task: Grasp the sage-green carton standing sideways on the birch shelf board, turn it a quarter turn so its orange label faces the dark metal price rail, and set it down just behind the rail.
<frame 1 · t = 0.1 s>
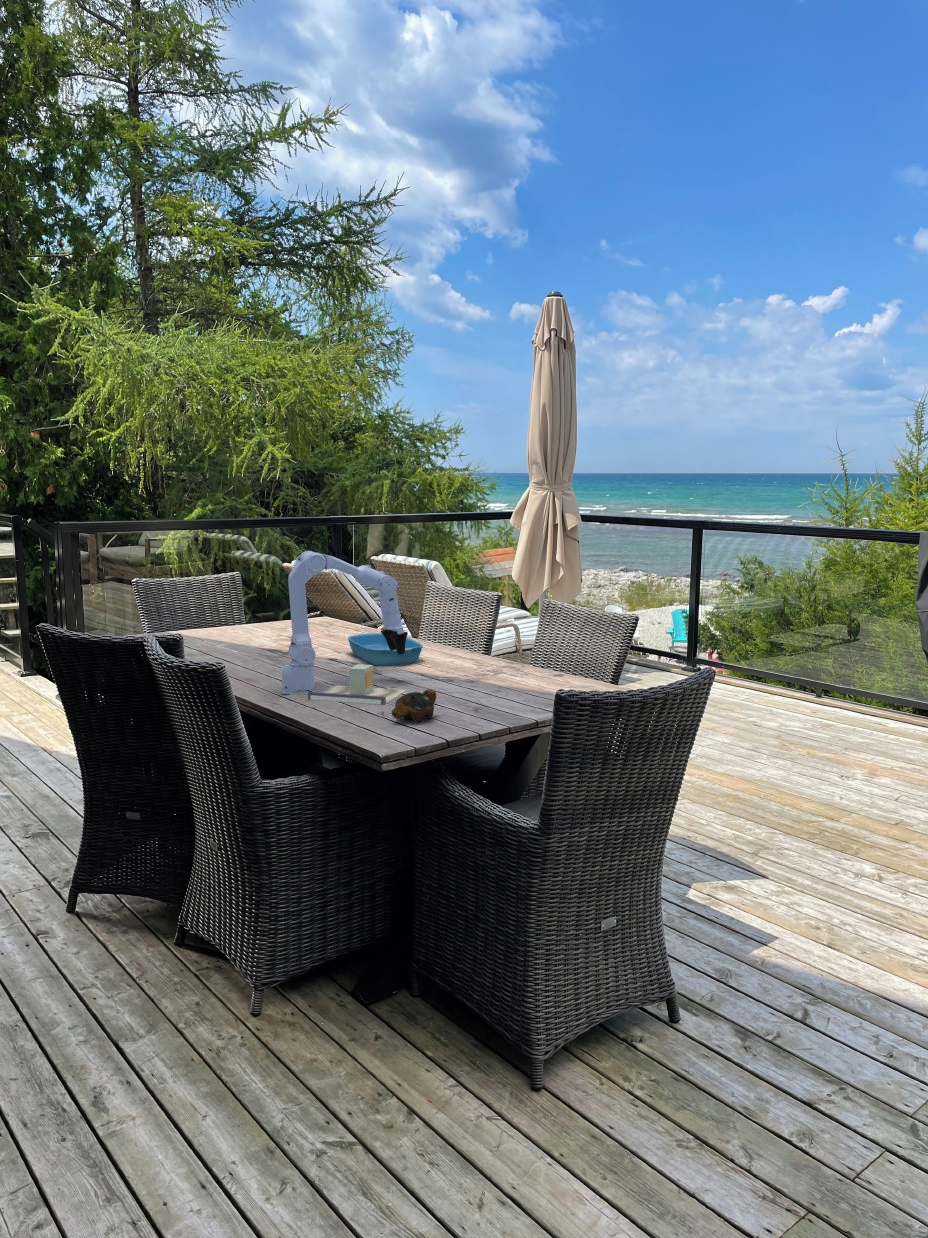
hand: (397, 652, 294), 11 cm above the table, fingers open, 7 cm apart
casserole dish: (384, 659, 340), on the table
decorative turtle: (415, 720, 251), on the table
shelf board: (359, 698, 275), on the table
price rail: (346, 706, 265), on the table
carton: (361, 692, 276), point 1 cm above the table, touching shelf board
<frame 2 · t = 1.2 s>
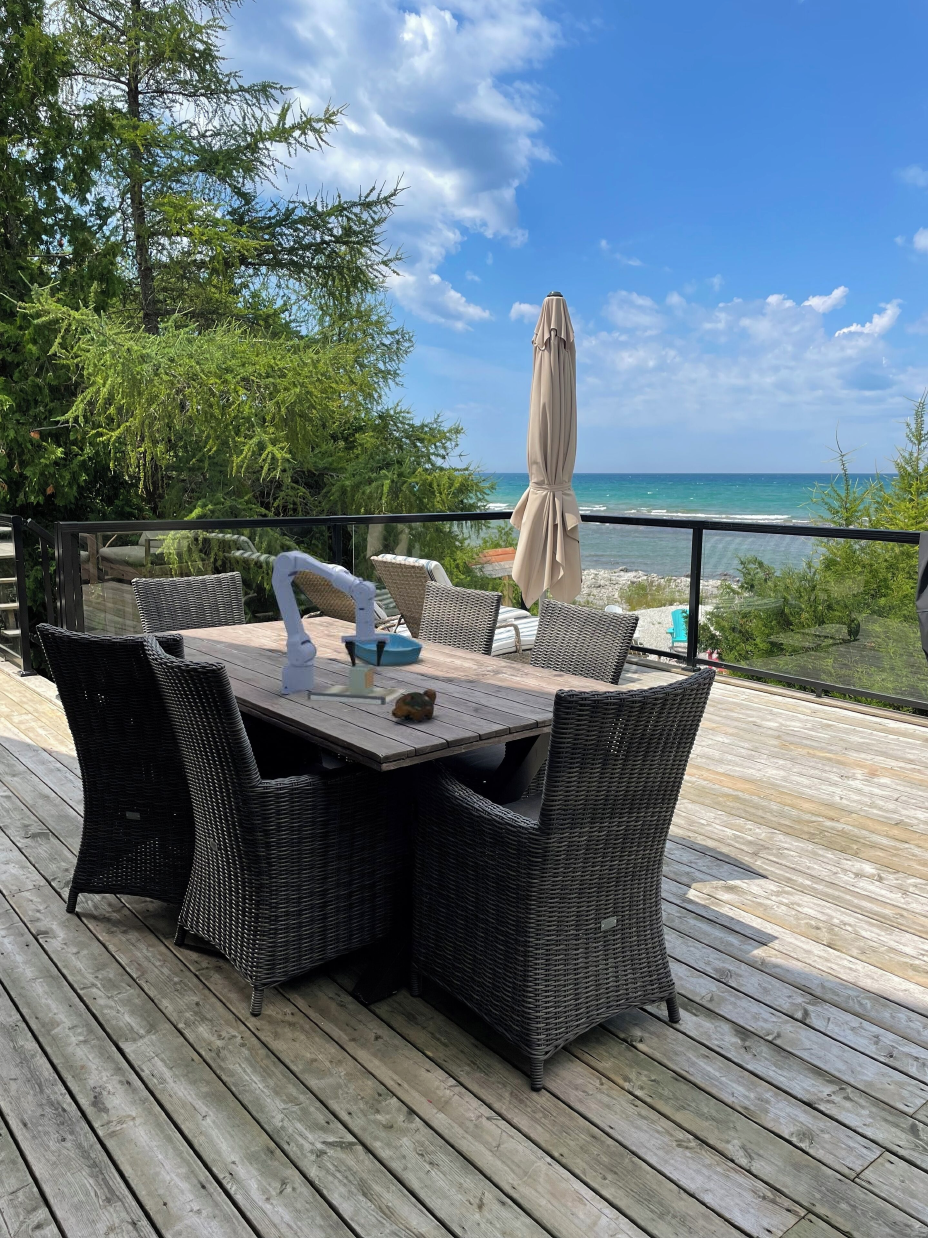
hand: (366, 665, 276), 10 cm above the table, fingers open, 7 cm apart
carton: (361, 692, 276), point 2 cm above the table, touching gripper, shelf board
everything else where it was.
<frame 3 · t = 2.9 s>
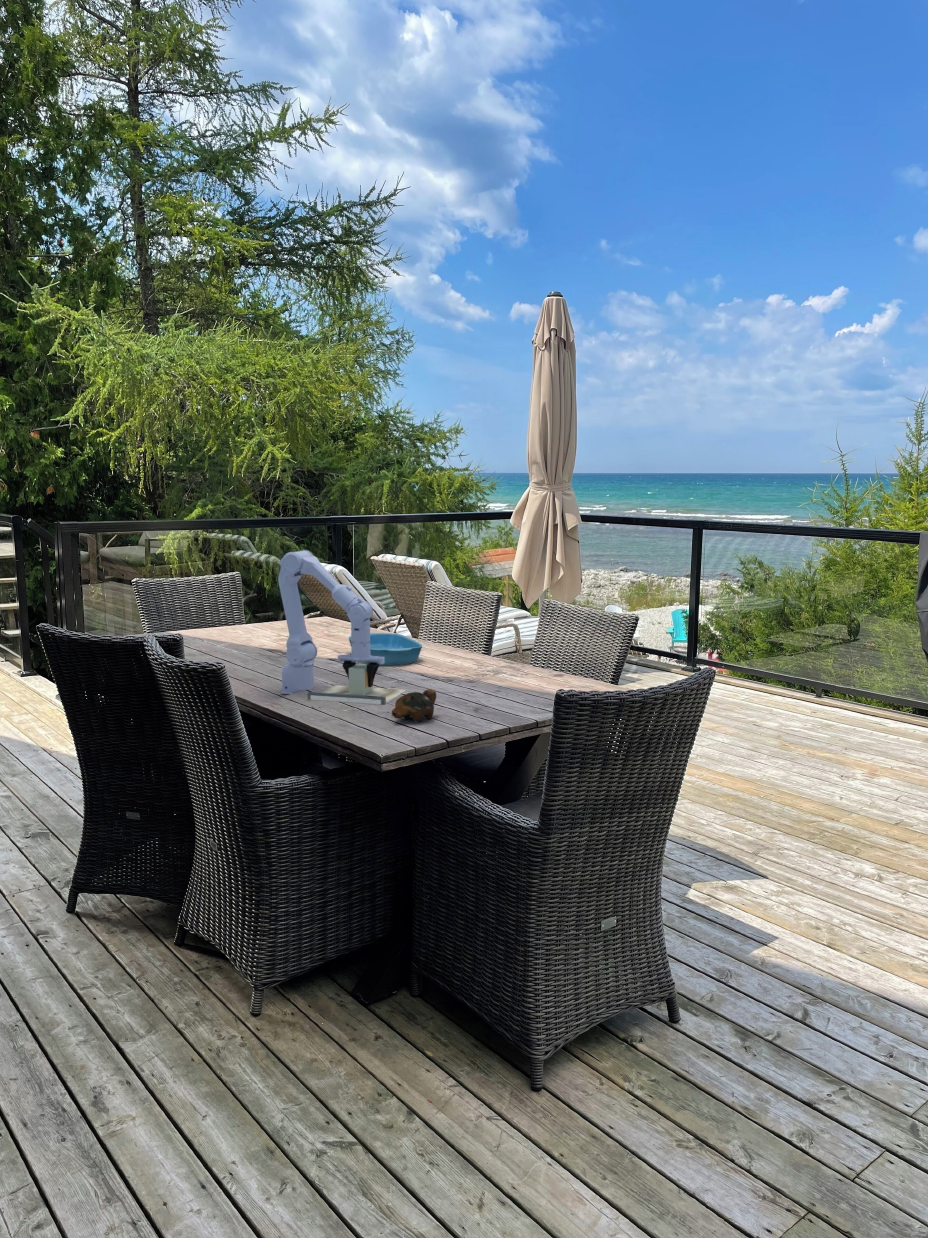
hand: (361, 686, 276), 3 cm above the table, fingers closed on carton, 5 cm apart
carton: (361, 692, 277), point 2 cm above the table, touching gripper, shelf board
everything else where it was.
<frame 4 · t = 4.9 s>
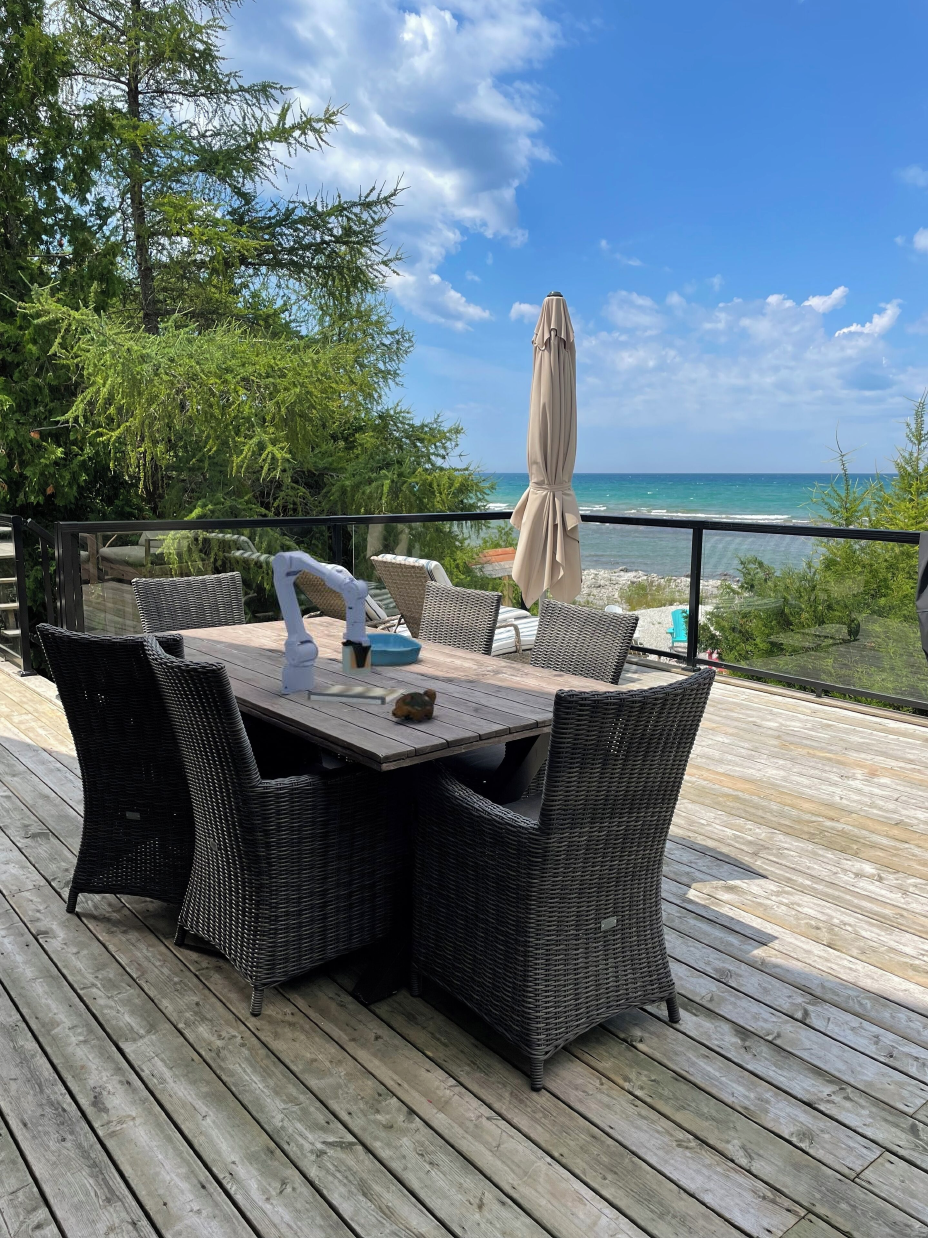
hand: (356, 666, 272), 10 cm above the table, fingers closed on carton, 5 cm apart
carton: (356, 673, 272), point 8 cm above the table, touching gripper
everything else where it was.
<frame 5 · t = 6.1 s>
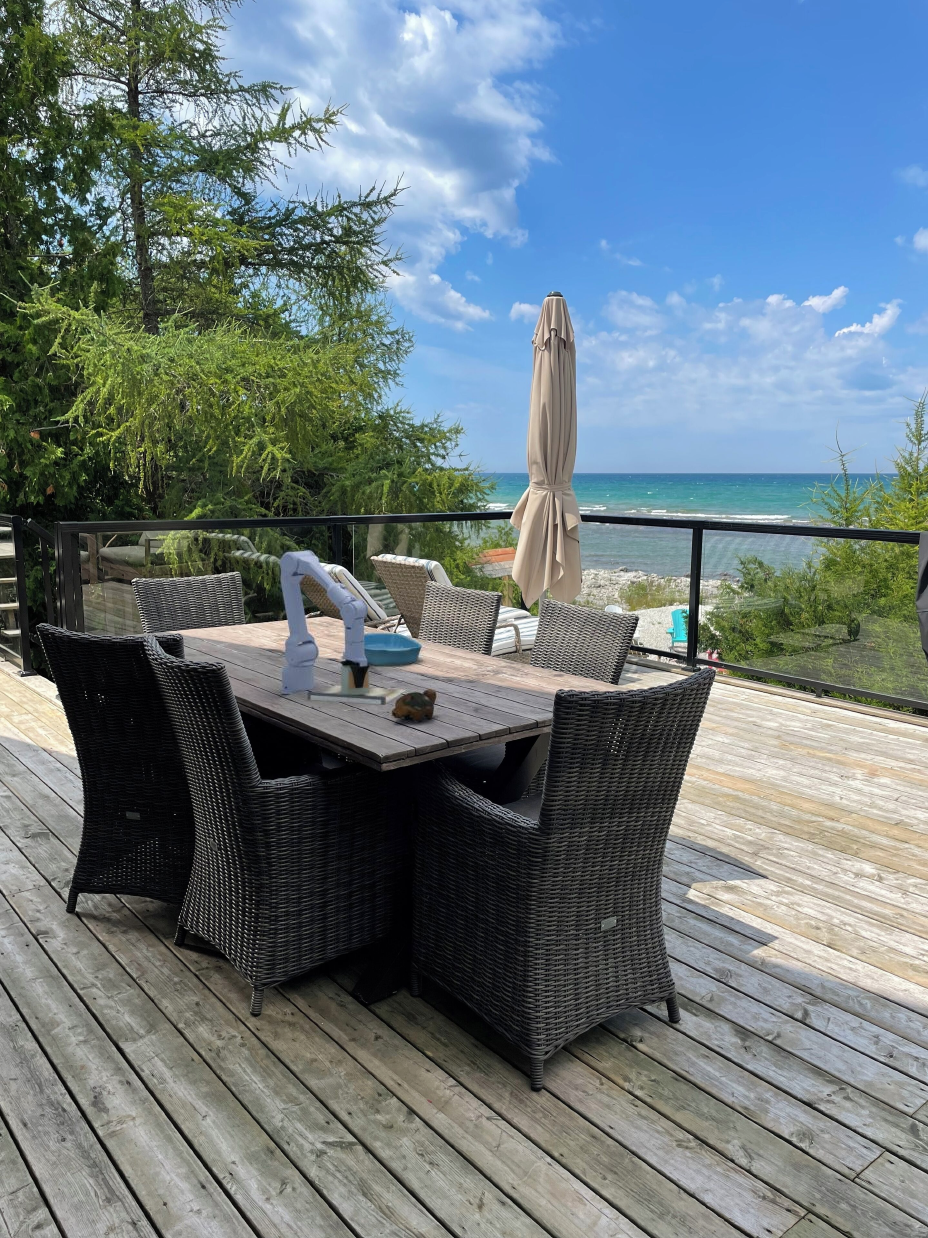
hand: (355, 685, 271), 5 cm above the table, fingers closed on carton, 5 cm apart
carton: (355, 692, 272), point 2 cm above the table, touching gripper
everything else where it was.
when the fingers open (4 cm above the table, at t = 7.0 s): carton stays where it is, resting on shelf board.
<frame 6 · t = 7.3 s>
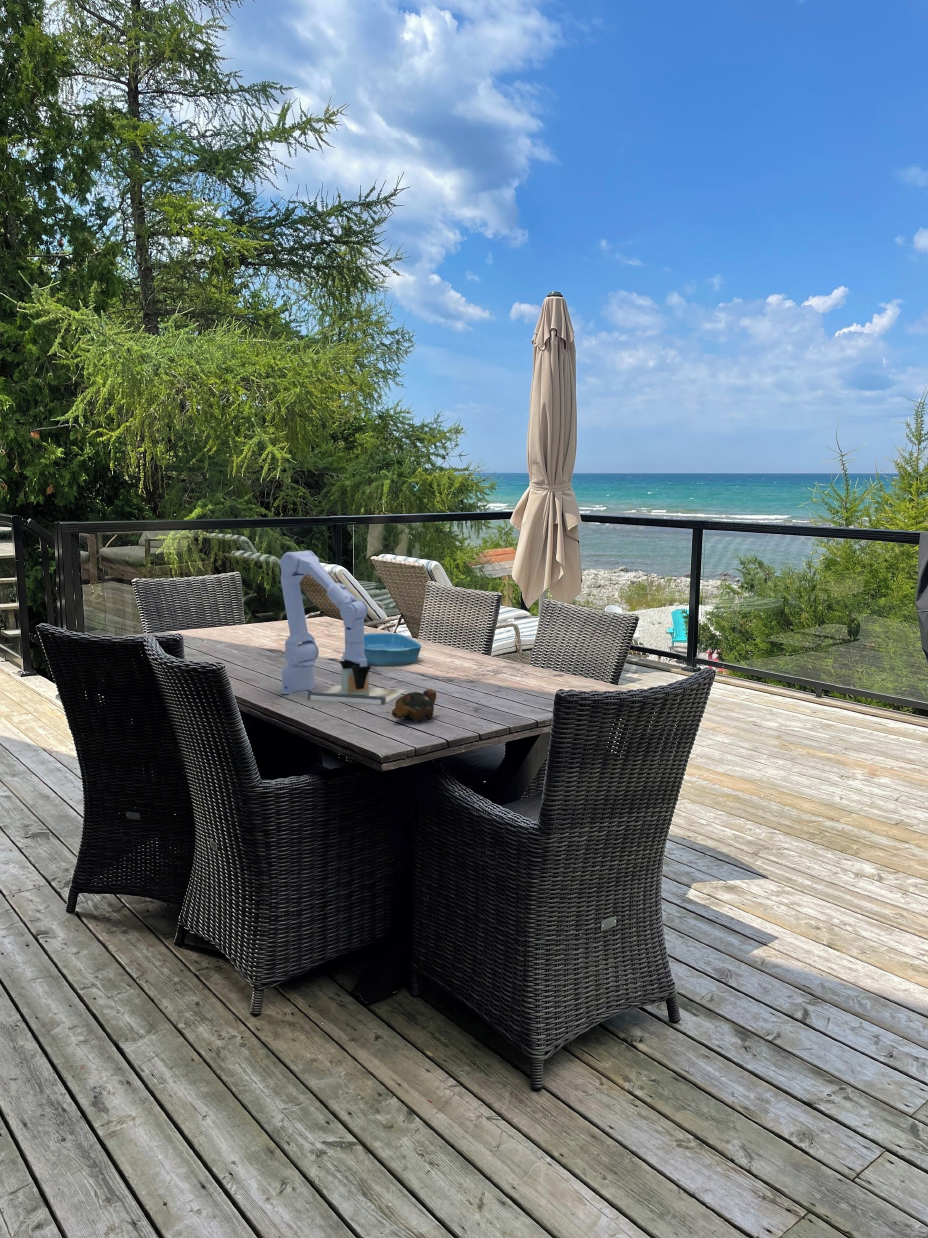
hand: (355, 686, 271), 5 cm above the table, fingers open, 7 cm apart
carton: (355, 696, 272), point 1 cm above the table, touching shelf board
everything else where it was.
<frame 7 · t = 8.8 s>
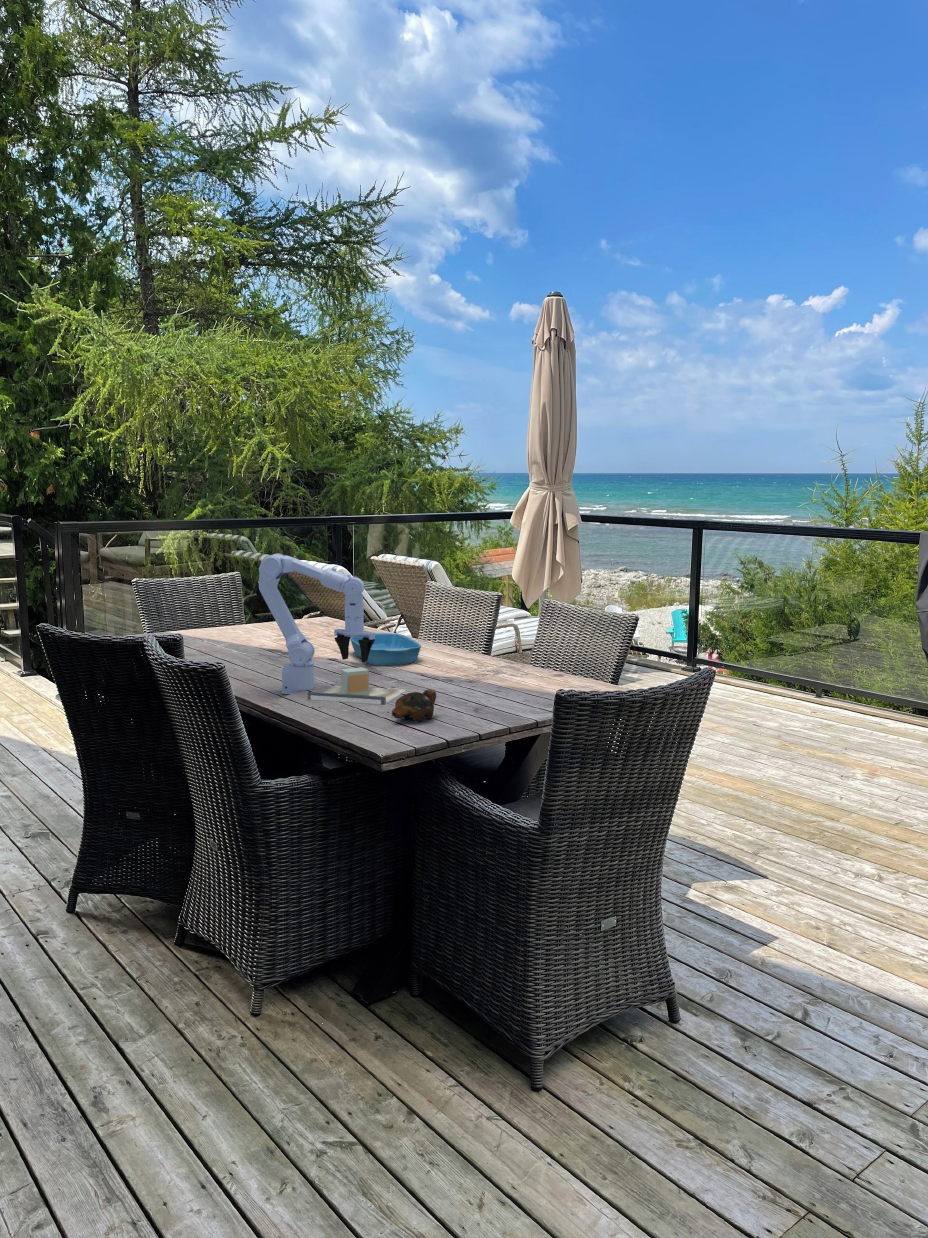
hand: (354, 660, 281), 10 cm above the table, fingers open, 7 cm apart
nothing on the table moved.
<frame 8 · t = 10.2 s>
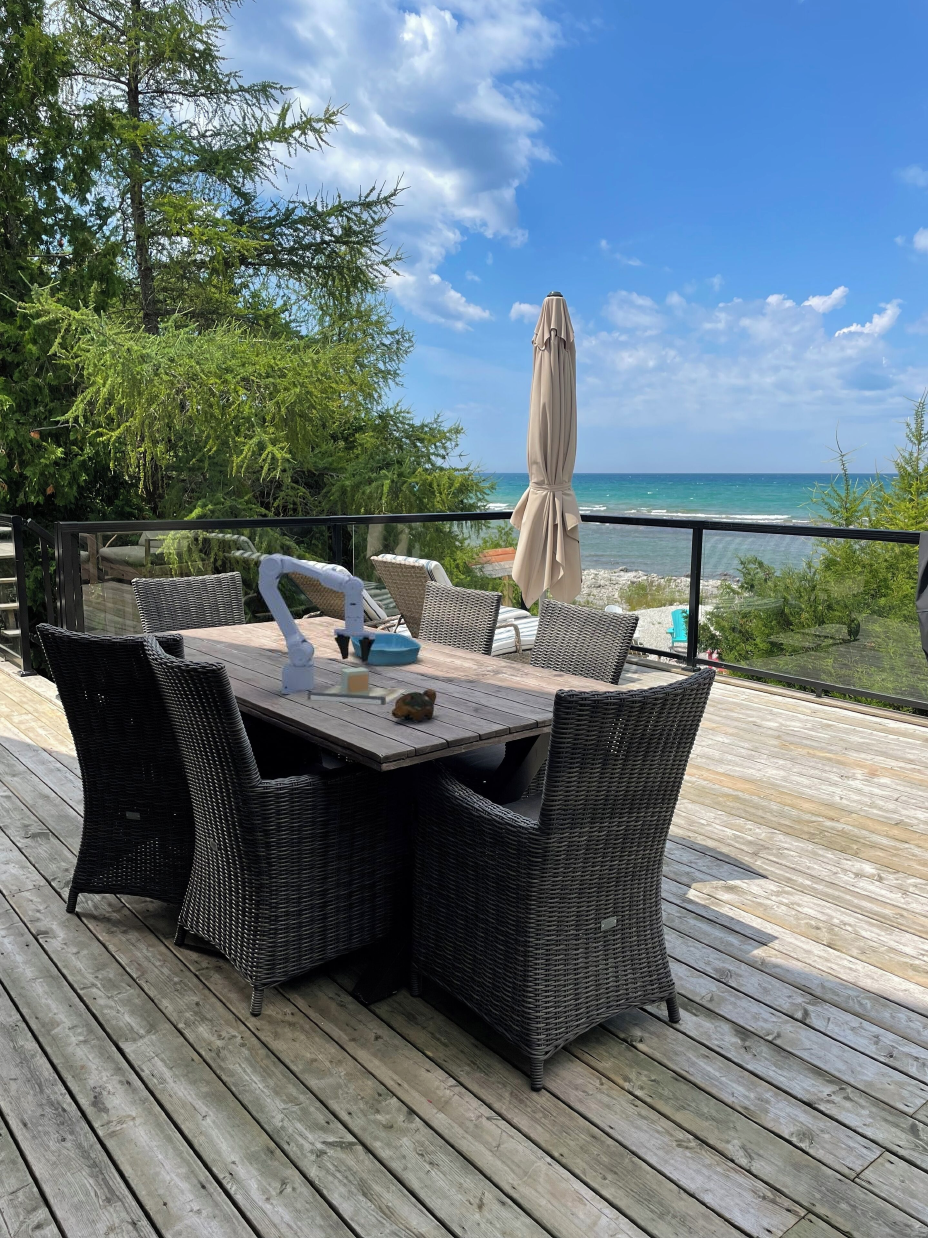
hand: (354, 660, 281), 10 cm above the table, fingers open, 7 cm apart
nothing on the table moved.
at the end: carton inside the target area (0.1 cm from its centre), point 1.5 cm above the table; carton tilted 0°; the gripper is holding nothing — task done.
